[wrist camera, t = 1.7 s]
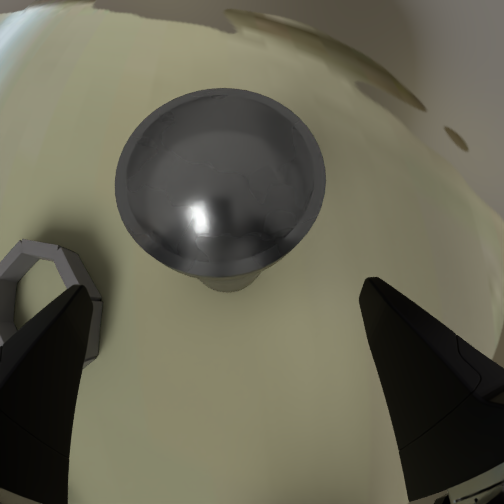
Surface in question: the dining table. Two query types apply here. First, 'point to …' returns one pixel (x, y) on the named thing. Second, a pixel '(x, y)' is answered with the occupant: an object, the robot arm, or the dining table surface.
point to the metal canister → (220, 185)
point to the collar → (71, 271)
